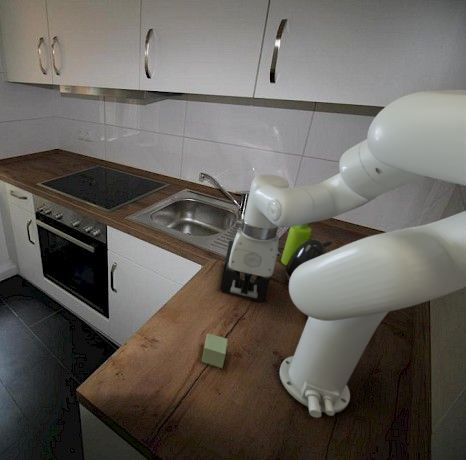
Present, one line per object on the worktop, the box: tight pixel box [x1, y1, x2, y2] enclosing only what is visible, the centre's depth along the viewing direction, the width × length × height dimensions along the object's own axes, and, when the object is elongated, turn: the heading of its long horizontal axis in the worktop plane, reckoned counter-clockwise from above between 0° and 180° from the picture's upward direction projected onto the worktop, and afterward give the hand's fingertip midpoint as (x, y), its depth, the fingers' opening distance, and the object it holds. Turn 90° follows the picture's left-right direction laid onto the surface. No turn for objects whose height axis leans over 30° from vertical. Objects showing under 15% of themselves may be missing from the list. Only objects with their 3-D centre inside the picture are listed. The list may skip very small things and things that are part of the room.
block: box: [201, 332, 229, 369], centre depth 70 cm, size 4×4×4 cm
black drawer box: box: [219, 240, 271, 301], centre depth 93 cm, size 14×12×10 cm
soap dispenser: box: [280, 223, 312, 267], centre depth 100 cm, size 6×7×20 cm
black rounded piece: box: [285, 238, 333, 281], centre depth 91 cm, size 10×10×15 cm
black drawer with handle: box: [220, 268, 269, 303], centre depth 89 cm, size 17×11×8 cm, turn 158°
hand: (244, 290), depth 82 cm, fingers closed
